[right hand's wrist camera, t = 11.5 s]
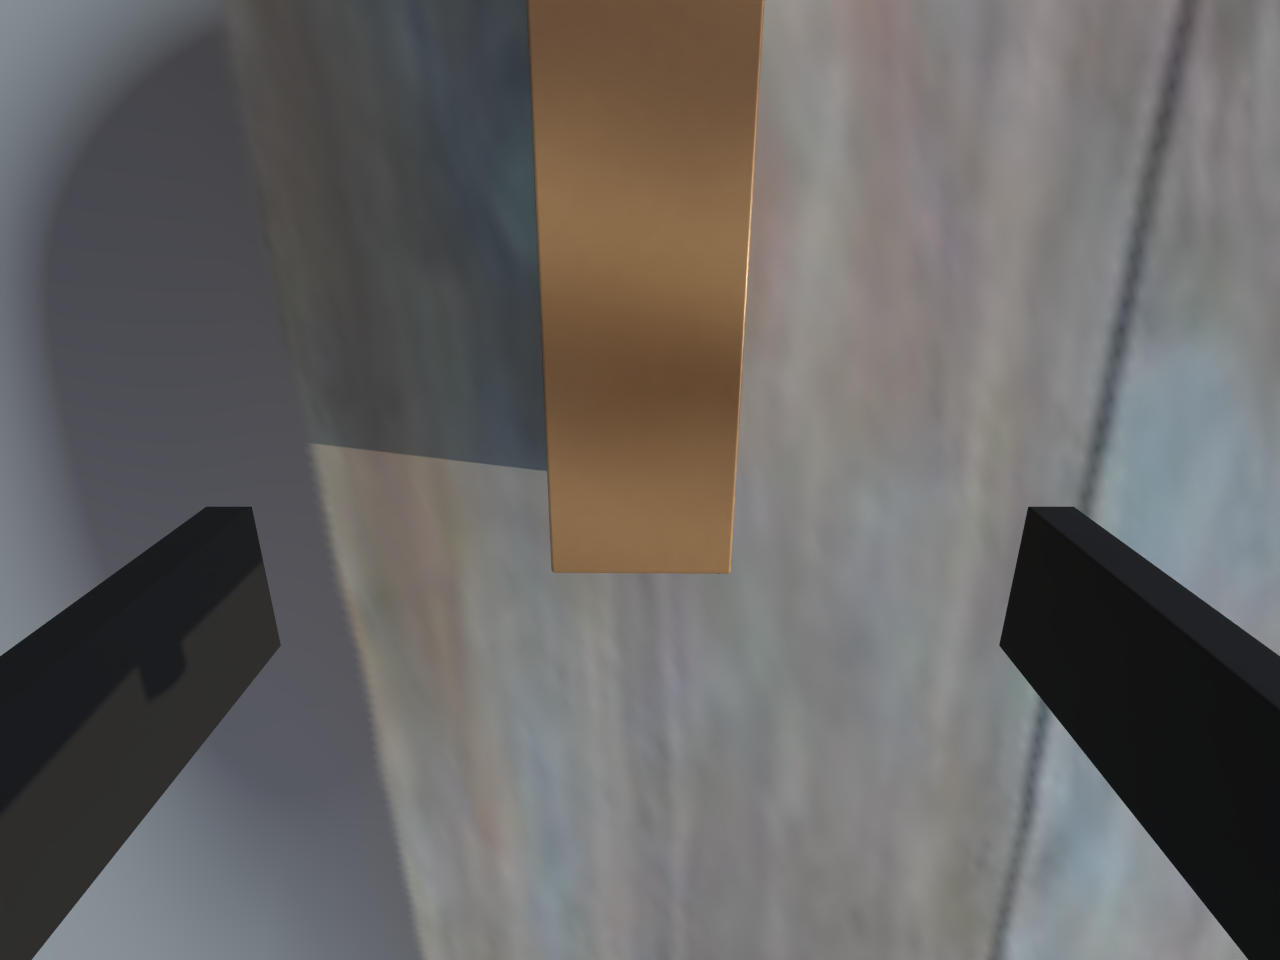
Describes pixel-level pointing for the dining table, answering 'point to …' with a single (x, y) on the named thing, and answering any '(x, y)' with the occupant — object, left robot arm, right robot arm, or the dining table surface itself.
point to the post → (643, 272)
